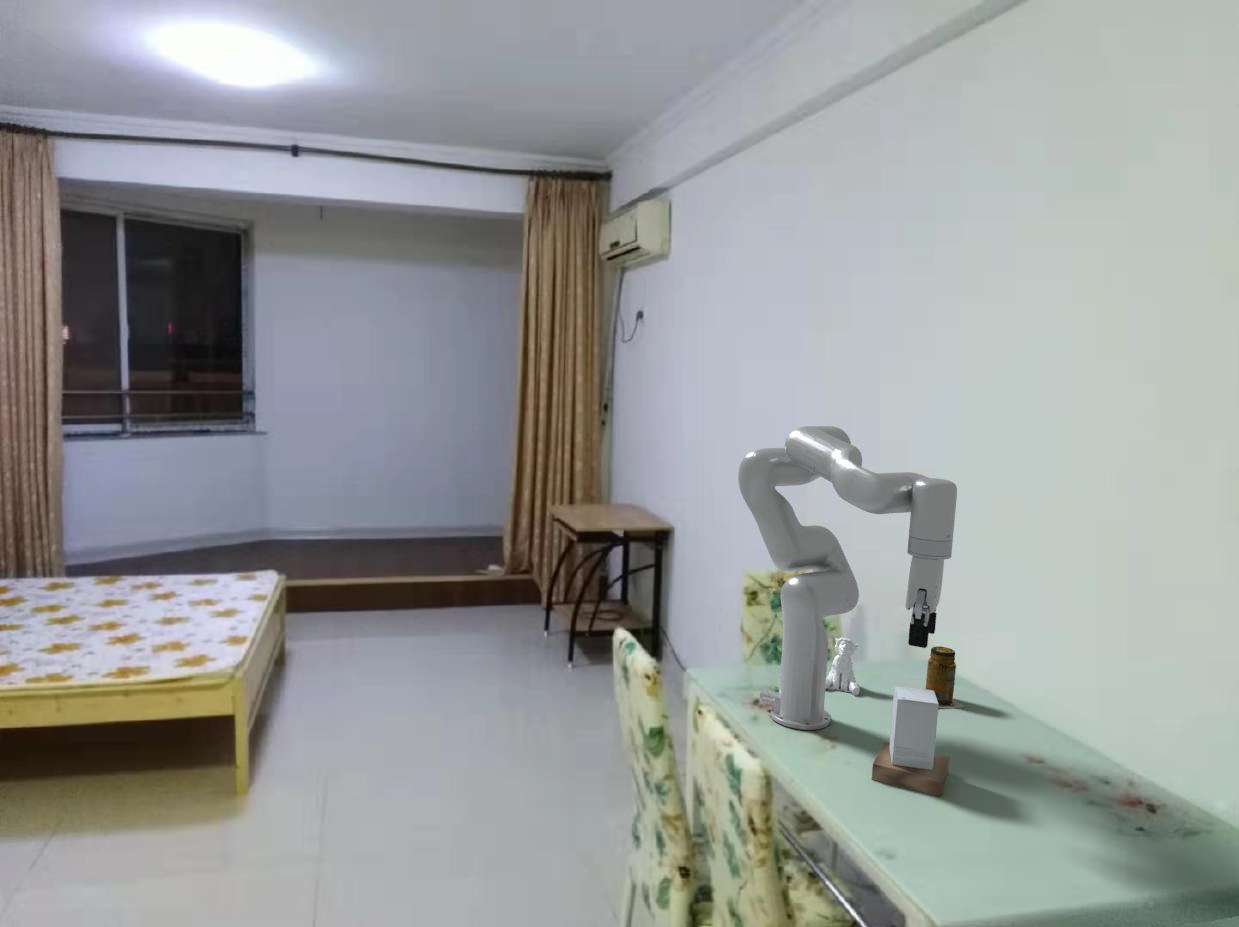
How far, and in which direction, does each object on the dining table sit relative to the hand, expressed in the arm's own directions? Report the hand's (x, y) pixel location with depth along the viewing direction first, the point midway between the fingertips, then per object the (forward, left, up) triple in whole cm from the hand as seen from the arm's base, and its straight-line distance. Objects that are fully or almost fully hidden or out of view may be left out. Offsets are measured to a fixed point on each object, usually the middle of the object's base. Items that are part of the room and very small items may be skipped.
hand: (921, 639), depth 161 cm
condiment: (0, +43, -26) cm, 50 cm away
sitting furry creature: (-22, +39, -26) cm, 52 cm away
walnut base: (0, 0, -26) cm, 26 cm away
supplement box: (0, 0, -23) cm, 23 cm away
